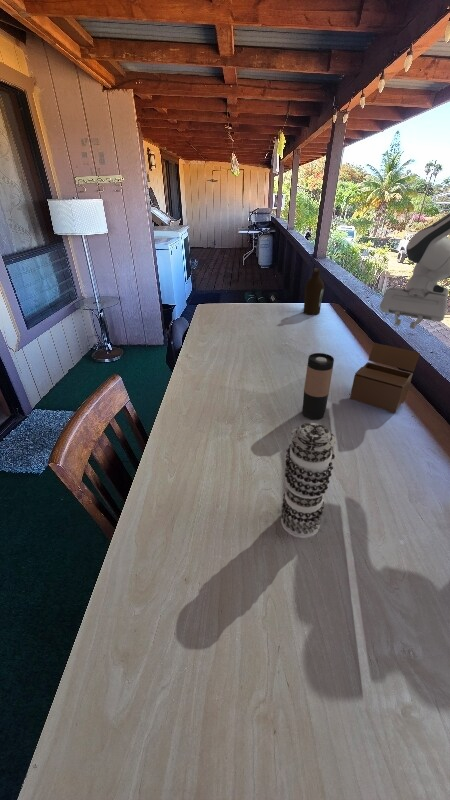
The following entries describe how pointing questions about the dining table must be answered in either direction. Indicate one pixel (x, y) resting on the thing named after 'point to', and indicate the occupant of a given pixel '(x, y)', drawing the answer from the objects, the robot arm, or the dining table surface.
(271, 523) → the dining table surface
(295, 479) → the decorative candle
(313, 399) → the travel mug
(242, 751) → the dining table surface
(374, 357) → the flap
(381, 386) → the carton
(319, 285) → the olive oil
